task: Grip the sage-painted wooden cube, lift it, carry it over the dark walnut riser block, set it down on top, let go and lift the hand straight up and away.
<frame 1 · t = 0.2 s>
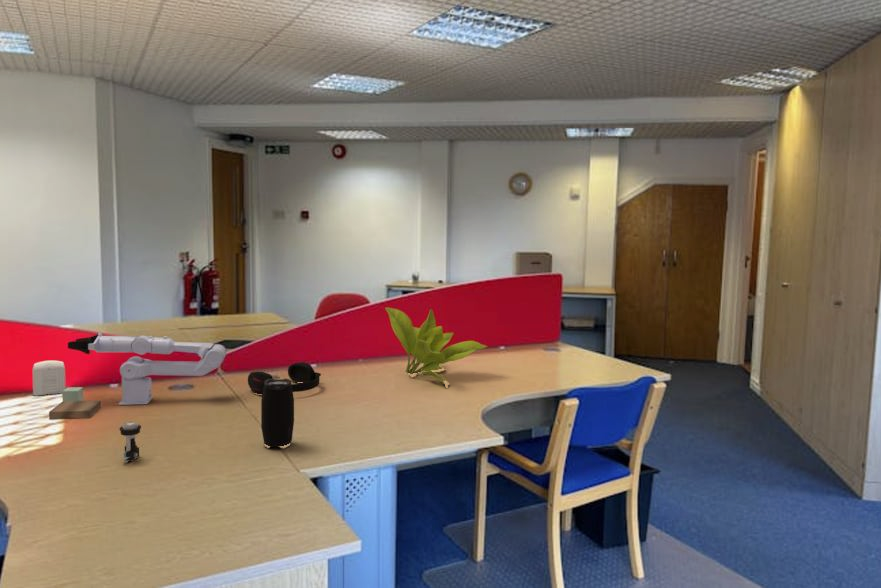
hand: (72, 343, 225), 21 cm above the table, tool horizontal, fingers open, 7 cm apart
portable speaker: (277, 446, 193), on the table
photo printer: (49, 394, 239), on the table
artificial plant: (428, 378, 279), on the table
headset: (284, 389, 256), on the table
sage wooden cube: (73, 403, 229), on the table
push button: (130, 460, 178), on the table
walnut riser block: (76, 414, 217), on the table
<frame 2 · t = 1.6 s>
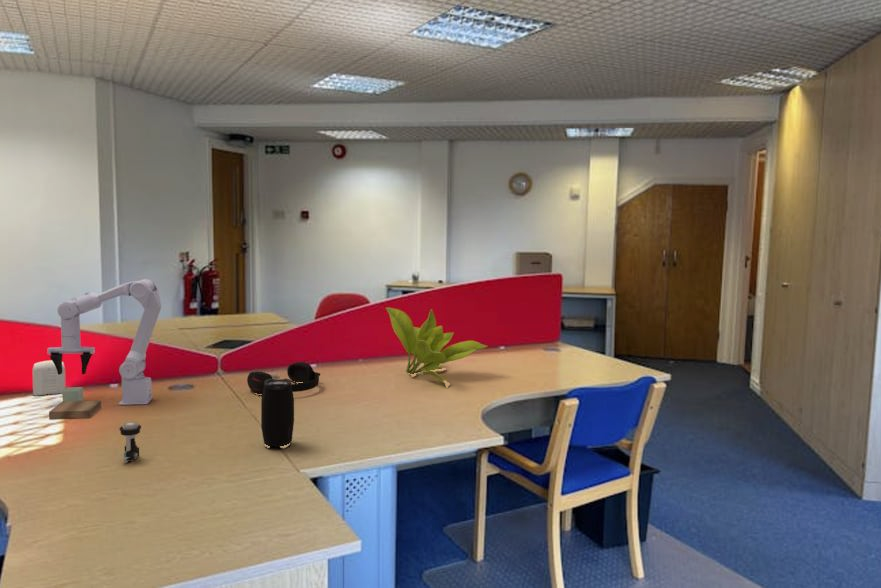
hand: (72, 373, 227), 10 cm above the table, tool pointing down, fingers open, 7 cm apart
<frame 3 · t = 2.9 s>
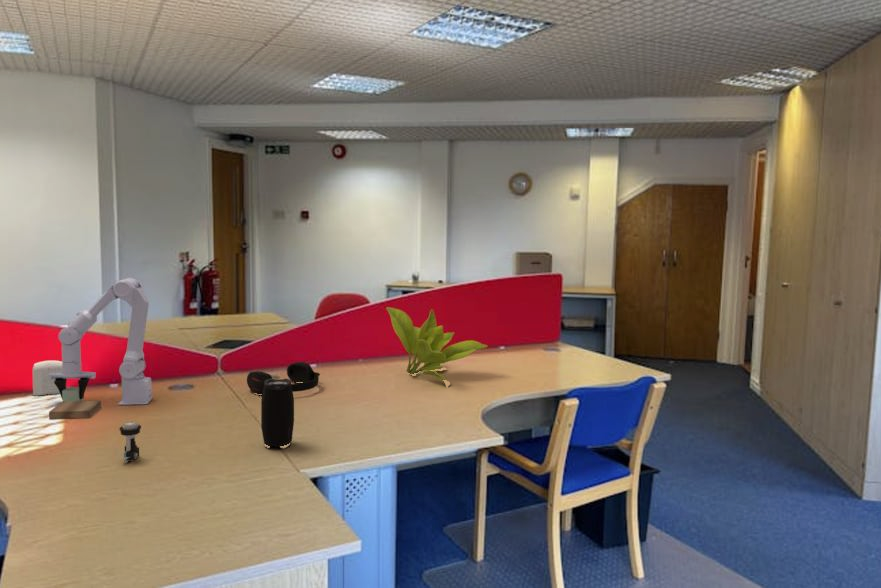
hand: (73, 398, 228), 1 cm above the table, tool pointing down, fingers closed on sage wooden cube, 5 cm apart
sage wooden cube: (73, 402, 229), on the table, touching gripper
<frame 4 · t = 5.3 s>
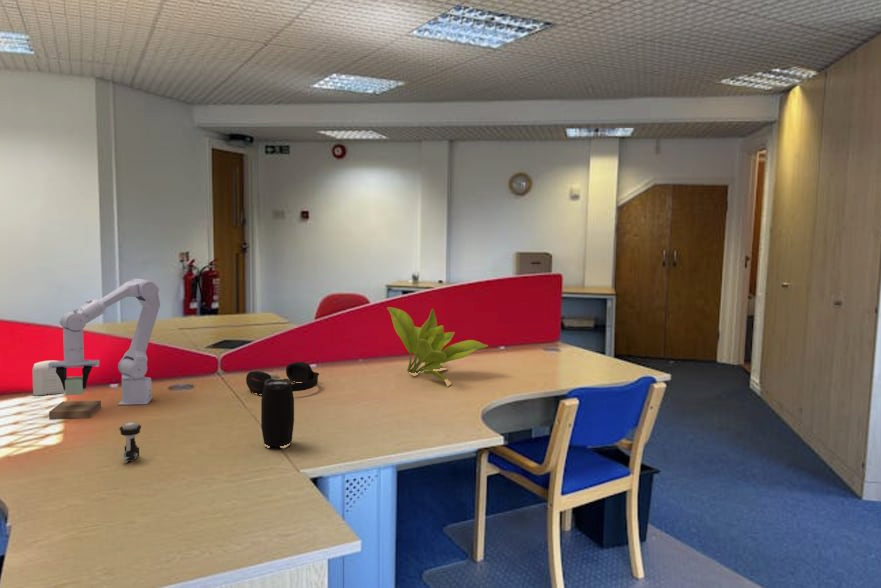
hand: (75, 388, 216), 8 cm above the table, tool pointing down, fingers closed on sage wooden cube, 5 cm apart
sage wooden cube: (75, 392, 216), point 7 cm above the table, touching gripper
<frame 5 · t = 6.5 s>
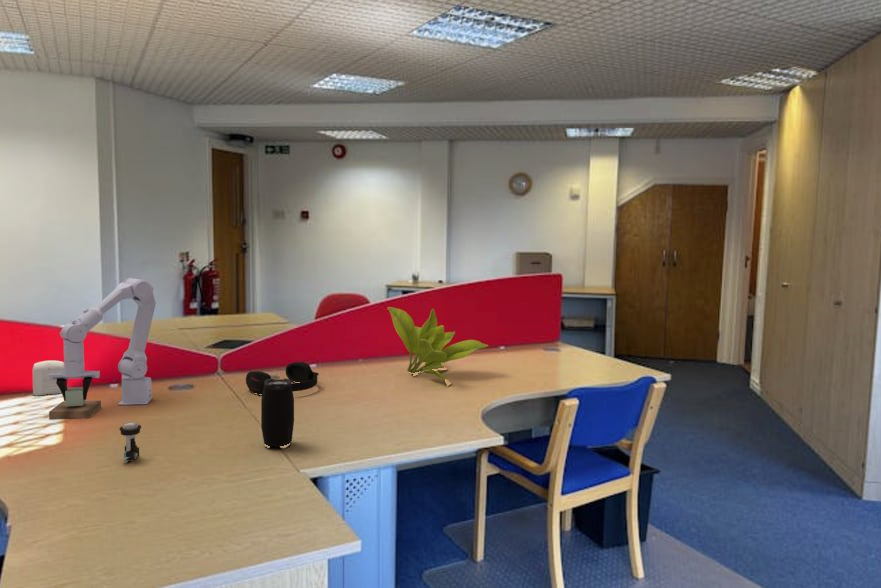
hand: (75, 399, 216), 5 cm above the table, tool pointing down, fingers closed on sage wooden cube, 5 cm apart
sage wooden cube: (75, 403, 217), point 3 cm above the table, touching gripper
when the fingers open (5 cm above the table, at t = 7.7 s): sage wooden cube stays where it is, resting on walnut riser block.
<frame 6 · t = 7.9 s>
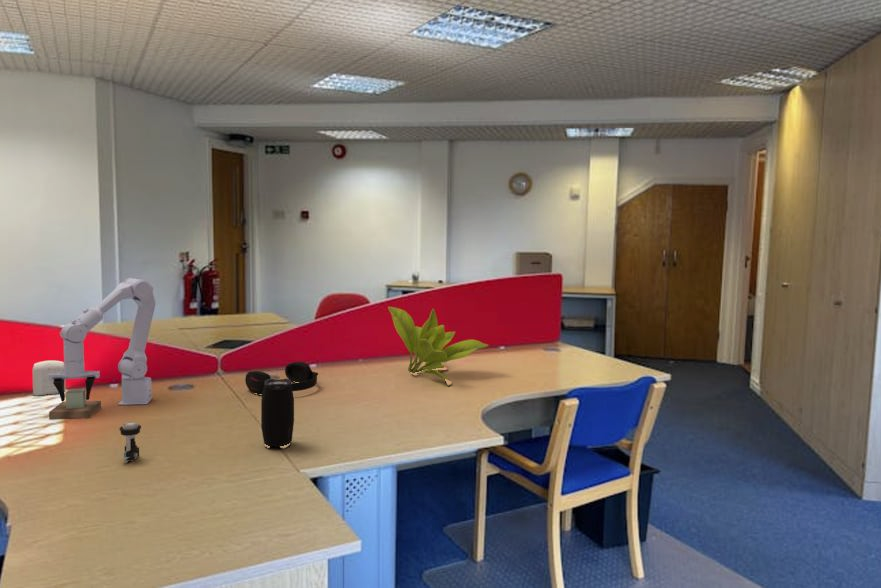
hand: (75, 399, 216), 5 cm above the table, tool pointing down, fingers open, 7 cm apart
sage wooden cube: (76, 406, 217), point 2 cm above the table, touching walnut riser block
walnut riser block: (76, 414, 217), on the table, touching sage wooden cube
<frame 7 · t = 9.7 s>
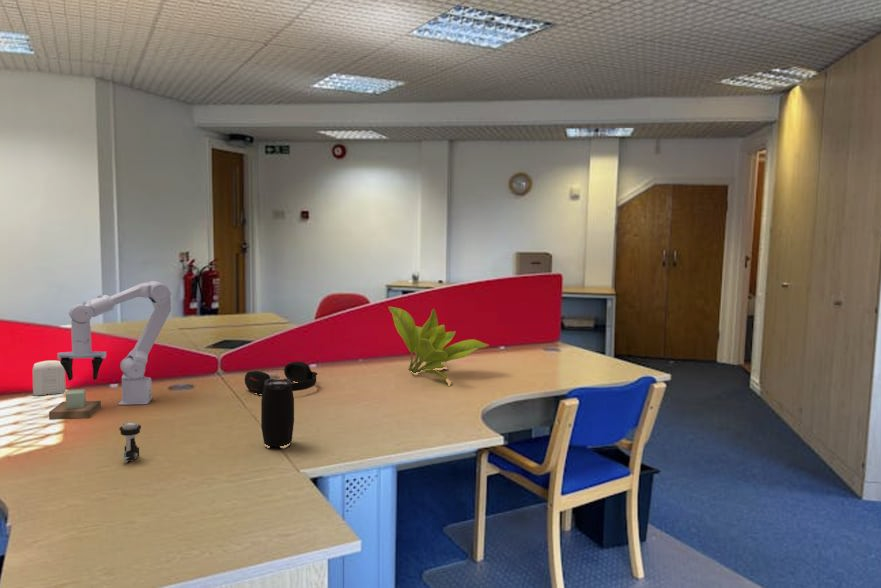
hand: (83, 379, 221), 10 cm above the table, tool pointing down, fingers open, 7 cm apart
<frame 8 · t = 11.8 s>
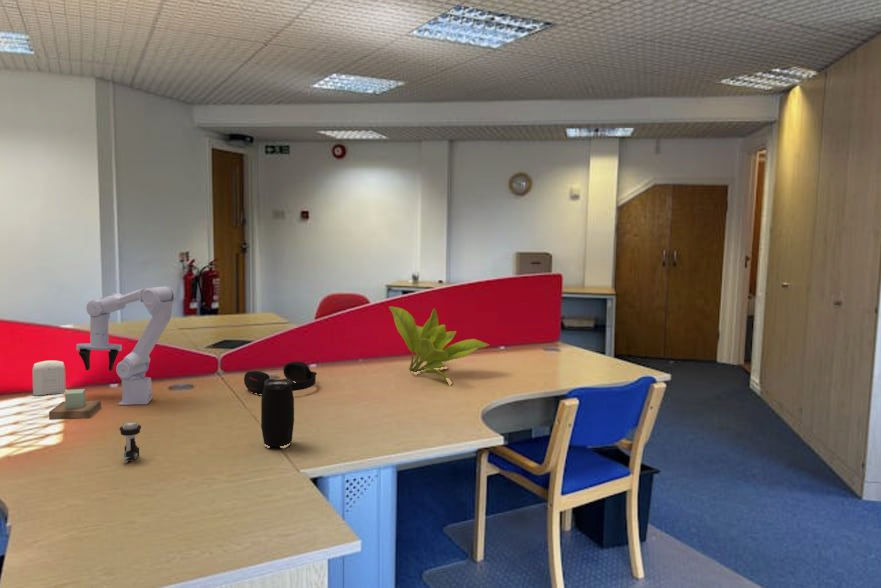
hand: (99, 369, 234), 10 cm above the table, tool pointing down, fingers open, 7 cm apart
at the end: sage wooden cube inside the target area on the walnut riser block (0.2 cm from its centre), point 3.0 cm above the walnut riser block's base; the gripper is holding nothing; sage wooden cube touching walnut riser block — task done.
